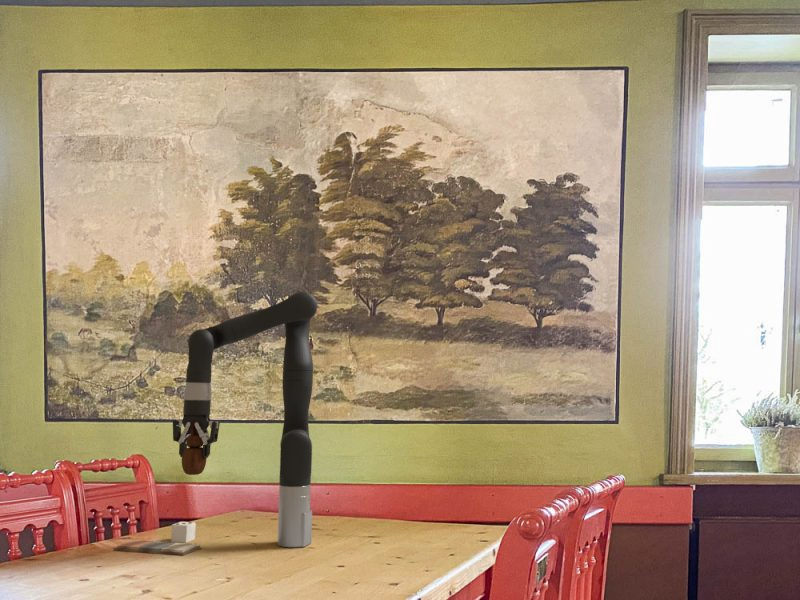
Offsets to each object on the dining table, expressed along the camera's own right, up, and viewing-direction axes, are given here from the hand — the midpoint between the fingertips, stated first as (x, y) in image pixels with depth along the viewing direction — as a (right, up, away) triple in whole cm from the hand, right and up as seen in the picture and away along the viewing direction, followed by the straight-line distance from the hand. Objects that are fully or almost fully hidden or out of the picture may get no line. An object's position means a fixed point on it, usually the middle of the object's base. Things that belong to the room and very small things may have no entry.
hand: (194, 457), depth 195 cm
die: (-7, -28, +11) cm, 30 cm away
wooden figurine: (0, -5, -1) cm, 5 cm away
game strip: (-10, -26, -1) cm, 28 cm away
